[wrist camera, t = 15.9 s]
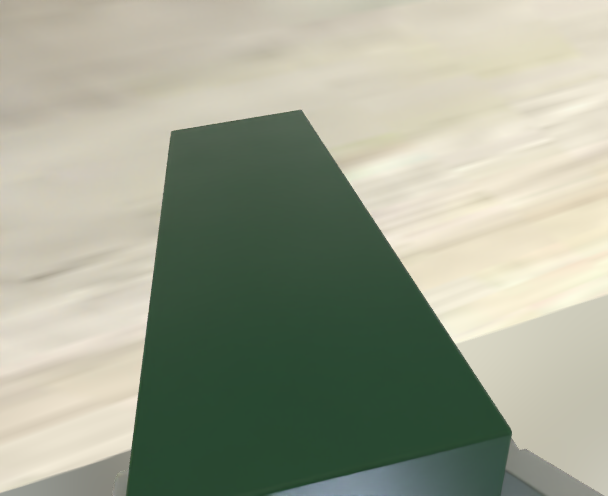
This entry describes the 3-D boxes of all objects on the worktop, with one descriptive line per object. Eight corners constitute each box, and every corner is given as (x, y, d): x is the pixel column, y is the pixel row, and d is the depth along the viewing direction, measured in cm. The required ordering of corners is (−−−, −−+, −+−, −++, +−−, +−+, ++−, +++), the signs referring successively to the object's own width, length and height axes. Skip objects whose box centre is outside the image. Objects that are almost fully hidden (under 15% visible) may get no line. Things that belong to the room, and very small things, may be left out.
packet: (469, 685, 11) (518, 430, 6) (245, 751, 11) (114, 528, 6) (323, 294, 24) (302, 108, 19) (217, 315, 23) (169, 130, 18)
